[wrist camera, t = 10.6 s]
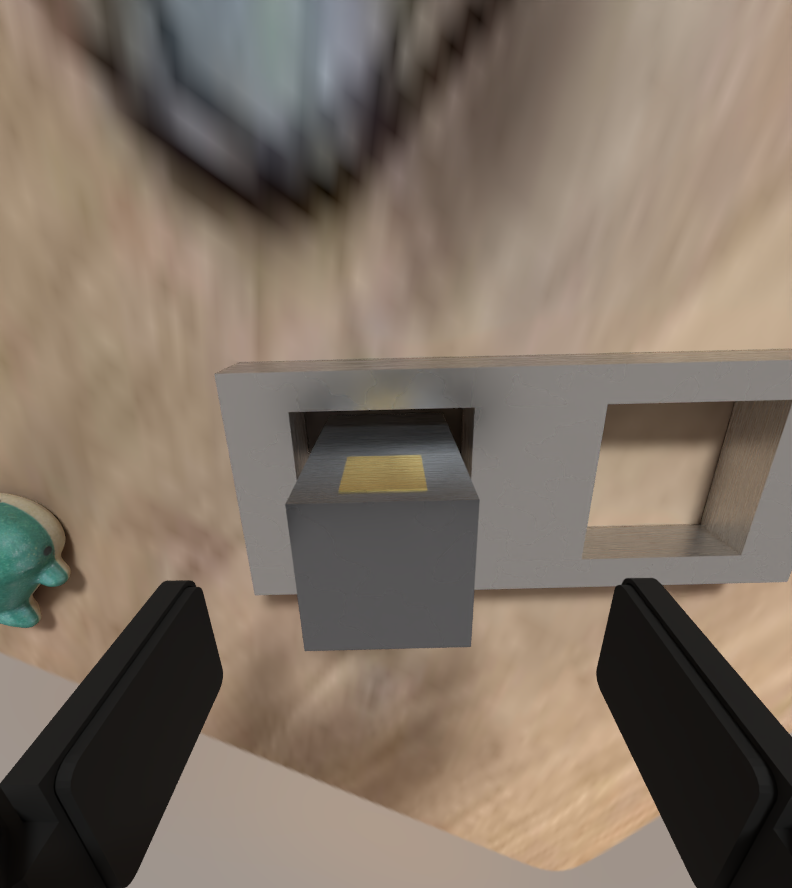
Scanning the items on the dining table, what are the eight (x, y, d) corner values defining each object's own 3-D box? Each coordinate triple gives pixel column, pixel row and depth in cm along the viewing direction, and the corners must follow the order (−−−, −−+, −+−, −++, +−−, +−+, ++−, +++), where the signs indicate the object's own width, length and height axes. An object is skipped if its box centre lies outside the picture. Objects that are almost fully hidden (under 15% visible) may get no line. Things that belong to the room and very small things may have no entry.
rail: (809, 348, 17) (875, 357, 15) (742, 548, 20) (787, 581, 18) (238, 362, 17) (214, 373, 15) (270, 560, 20) (254, 595, 18)
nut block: (442, 411, 18) (479, 498, 10) (440, 512, 20) (470, 648, 12) (329, 414, 18) (284, 502, 10) (337, 514, 20) (304, 652, 12)
